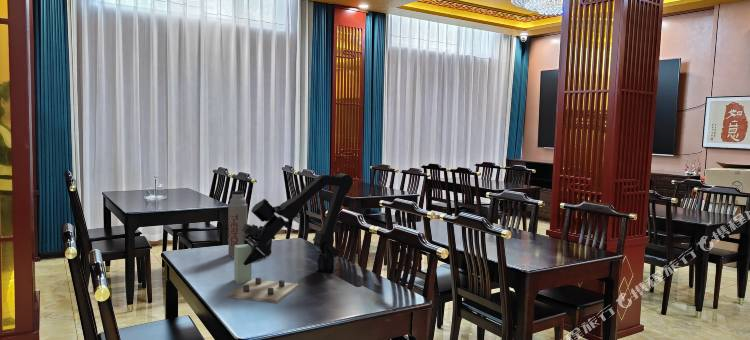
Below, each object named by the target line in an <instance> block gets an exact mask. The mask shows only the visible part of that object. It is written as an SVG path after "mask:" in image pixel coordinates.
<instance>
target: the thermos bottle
mask: <svg viewBox="0 0 750 340" xmlns="http://www.w3.org/2000/svg"><path fill="white" fill-rule="evenodd" d="M231 194H232V195H231V198H230V199H229V203H228V206H227V207H228V209H227V210H228V218H227V219H228V221H227V222H228V223H227V224H228V236H227V237H228V240H227V241H228V249H227V250H228V256H229V257H231V258H232V257H233V258H234V245H243V238H244V237H243V236H244V235H245V233H244V232H243V231H242V229H243V226H244V224H245V223H247V224H248V203H247V201H246V198H245V197H244V196H245V195H244V194H245V193H244V191H243V190H236V191H235V190H234V191H231ZM244 239H245V238H244Z"/></svg>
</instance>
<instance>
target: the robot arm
mask: <svg viewBox="0 0 750 340" xmlns="http://www.w3.org/2000/svg"><path fill="white" fill-rule="evenodd" d="M353 185H354V180H353V177H352V176H351V175H349V174H347V173H346V174H345V173H337V174H335V175H333V174H324V173H322V174H318V176H317V177H316V178H315V179H314V180H313V181H311V183H309V184H308V185H307V186H306V187H304V188H303V189H302V190H301V191H300V192H299V193H297V195H295V196H293V197H291V198H289V199H287V200H285V201H284V202H282V203H281V204H280V205H278V206H277V205H276V206H272V205H271V204H270V203H269V201H268V200H267V199H265V198H263V199H262V200H261V201H258V203H255V205H253V207H252V208H251V209H250V210H251V213H252V214H254V215H255V217H256V218H257V219H259V221H261V223H262V222H263V223H264V222H266V223H265V224H264V225H263V226H262V225H260V226H258V225H255V224H252V225H251V224H250V223H248V222H247V223H245V224H244V226H243V229H242V231H243V232H244V233H245V235H244V236H243V237H244V238H245V239H244V238H243V244H248V245H250V246H251V247H252V252H251V253H250V255H249V256H248V257H247V259H246V260H245V262H244V263H243V264H244V265H248V264H250V263H251V264H252V263H254V262H256V261H260V260H262V259H263V258H264V259H265V258H266V257H267V258H268V257H270V256H271V255H272V248H271V249H270V248H269V247H268V246H267V244H268V243H269V242H270V241H271V240H272V241H273V240H275V239H276V236H277V234H279V232H280V231H281V230H282V229H284V228H285V229H288V230H289V229H290V221H288V220H294V219H295V218H296V217H297V216H298V215H299V214H300V212H301V211H302V209H303V207H304V205H306V203H307V202H309V201H310V200H311V199H312V198H313V197H315V195H317V194H318V193H319V192H320V191H321V190H323V189H324V187H325V186H332V196H331V200H330V202H329V206H328V208H327V212H326V215H325V218H324V222H323V225H322V228H321V229H320V230H319V231H318V230H315V233H314V237H313V239H312V241H313V246H314V249H316V250H317V252H318V258H317V272H323V273H334V272H335V271H336V270H337V269H338V267H337V258H338V256H339V253H340V252H339V251H338V249H337V248H336V247H335V246H334V243H335V234H334V232H335V228H336V225H337V222H338V218H339V215H340V212H341V209H342V205H343V203H344V199H345V198H346V196H347V195H348V193H350V191H351V189H352V187H353ZM284 218H285V219H287V220H285V219H284ZM264 255H266V256H264Z"/></svg>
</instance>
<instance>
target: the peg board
mask: <svg viewBox="0 0 750 340" xmlns="http://www.w3.org/2000/svg"><path fill="white" fill-rule="evenodd" d="M298 287H299V283H293V282H286V281H285V279H279V280H278V281H275V280H274V281H273V280H263V279H262V277H255V278H251V280H250V281H249V282H245V283H244V284H242V285H240V286H239V287H237V288H236V289H234V290H232V291H231V292H229V293H227V298H231V299H240V300H247V301H248V300H249V301H258V302H266V303H275V304H278V303H279V302H280V301H282V300H283V299H285V298H286V297H287V296H288V295H290V294H291V293H292V292H294V291H295V290H296V289H297V288H298Z"/></svg>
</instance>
